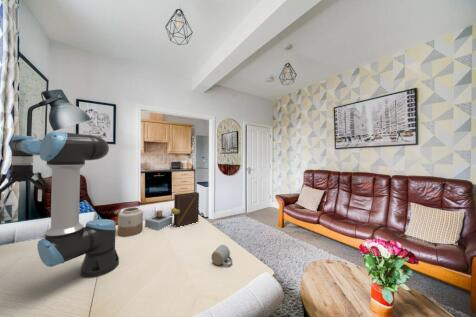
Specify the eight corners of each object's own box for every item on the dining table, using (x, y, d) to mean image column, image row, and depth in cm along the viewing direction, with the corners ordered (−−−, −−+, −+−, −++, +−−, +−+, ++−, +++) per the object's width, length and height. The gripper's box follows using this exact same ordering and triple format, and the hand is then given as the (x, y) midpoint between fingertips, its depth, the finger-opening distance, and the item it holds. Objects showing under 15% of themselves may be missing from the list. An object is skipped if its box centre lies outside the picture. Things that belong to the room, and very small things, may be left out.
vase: (121, 228, 134) (122, 206, 134) (144, 227, 139) (144, 205, 138) (114, 237, 119) (115, 213, 119) (139, 235, 124) (140, 211, 124)
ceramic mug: (210, 263, 94) (210, 249, 94) (218, 256, 101) (218, 242, 101) (227, 270, 90) (228, 255, 89) (234, 261, 97) (235, 247, 97)
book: (195, 220, 157) (195, 191, 156) (199, 223, 150) (200, 193, 150) (169, 225, 142) (170, 194, 142) (173, 229, 136) (174, 196, 136)
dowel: (163, 219, 143) (163, 210, 143) (158, 220, 139) (159, 212, 139) (159, 218, 145) (159, 210, 145) (154, 219, 141) (155, 211, 141)
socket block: (172, 224, 145) (172, 216, 145) (158, 230, 133) (158, 221, 133) (159, 221, 151) (159, 213, 151) (145, 227, 139) (145, 218, 139)
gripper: (50, 163, 109) (50, 198, 109) (-20, 164, 87) (-21, 208, 87) (56, 164, 106) (56, 199, 106) (-15, 165, 83) (-16, 210, 84)
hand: (21, 203), depth 97 cm, fingers open, 13 cm apart
